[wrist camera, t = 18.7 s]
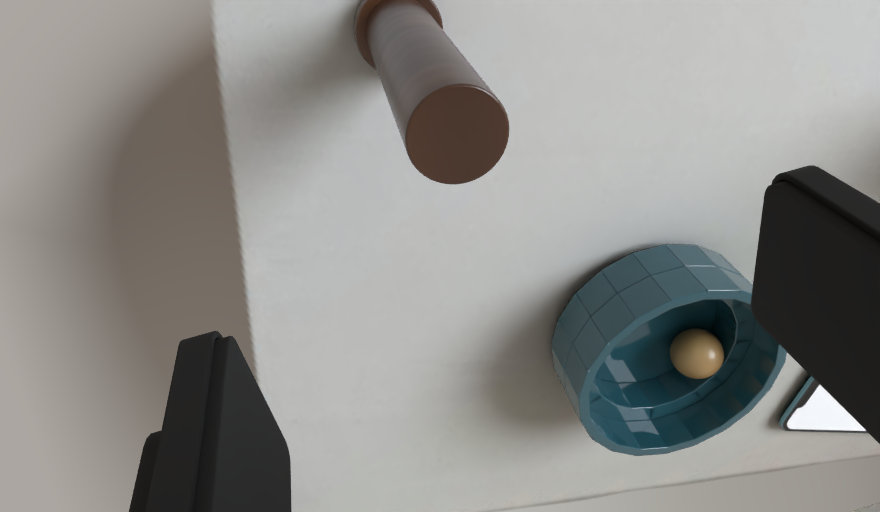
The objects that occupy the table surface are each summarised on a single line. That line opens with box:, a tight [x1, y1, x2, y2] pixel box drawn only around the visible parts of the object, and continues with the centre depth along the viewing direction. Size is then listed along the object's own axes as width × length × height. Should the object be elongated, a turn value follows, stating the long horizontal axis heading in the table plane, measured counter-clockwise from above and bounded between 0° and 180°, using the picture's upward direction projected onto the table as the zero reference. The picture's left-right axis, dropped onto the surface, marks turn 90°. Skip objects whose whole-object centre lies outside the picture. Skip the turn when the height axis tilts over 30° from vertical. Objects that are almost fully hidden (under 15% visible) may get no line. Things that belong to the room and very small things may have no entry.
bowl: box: [551, 244, 787, 456], centre depth 36 cm, size 12×12×5 cm
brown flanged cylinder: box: [354, 0, 509, 184], centre depth 22 cm, size 4×4×12 cm
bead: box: [670, 328, 724, 379], centre depth 38 cm, size 3×3×3 cm
